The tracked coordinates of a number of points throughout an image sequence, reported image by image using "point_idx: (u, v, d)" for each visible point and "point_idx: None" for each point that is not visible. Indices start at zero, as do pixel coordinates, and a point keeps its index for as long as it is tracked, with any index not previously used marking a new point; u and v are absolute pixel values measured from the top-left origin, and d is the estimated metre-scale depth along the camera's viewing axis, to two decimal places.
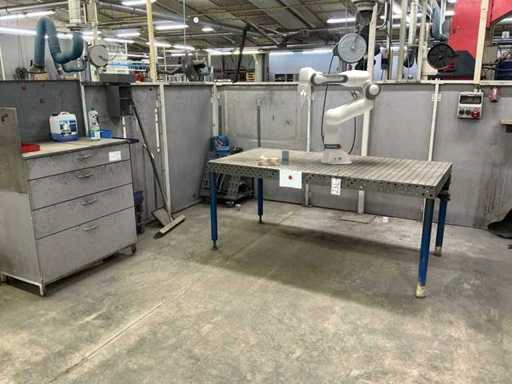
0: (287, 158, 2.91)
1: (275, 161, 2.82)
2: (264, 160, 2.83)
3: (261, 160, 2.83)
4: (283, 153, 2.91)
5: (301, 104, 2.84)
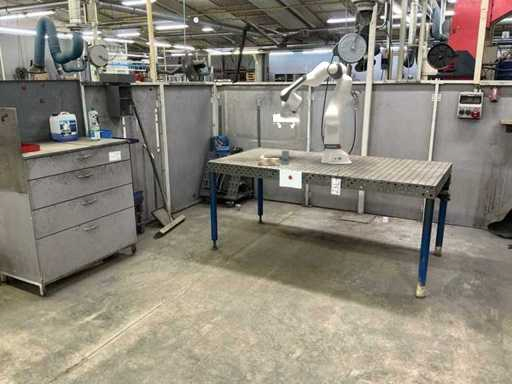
0: (287, 158, 2.91)
1: (275, 161, 2.82)
2: (264, 160, 2.83)
3: (261, 160, 2.83)
4: (283, 153, 2.91)
5: None
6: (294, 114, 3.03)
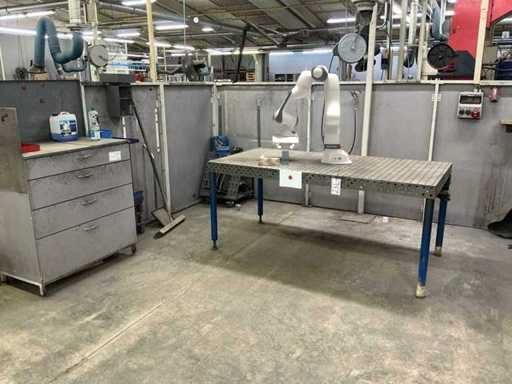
0: (287, 158, 2.91)
1: (275, 161, 2.82)
2: (264, 160, 2.83)
3: (261, 160, 2.83)
4: (283, 153, 2.91)
5: None
6: (293, 134, 3.00)
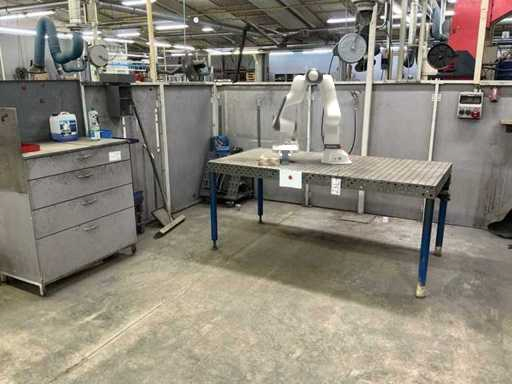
0: (287, 158, 2.91)
1: (275, 161, 2.82)
2: (264, 160, 2.83)
3: (261, 160, 2.83)
4: (283, 153, 2.91)
5: (278, 152, 2.95)
6: (294, 142, 2.95)
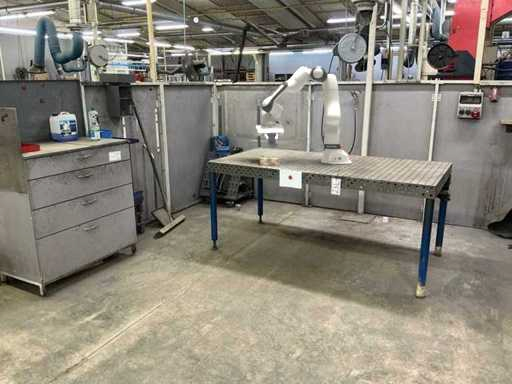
0: (274, 141, 2.88)
1: (275, 161, 2.82)
2: (264, 160, 2.83)
3: (261, 160, 2.83)
4: (270, 136, 2.87)
5: (264, 135, 2.89)
6: (278, 124, 2.93)
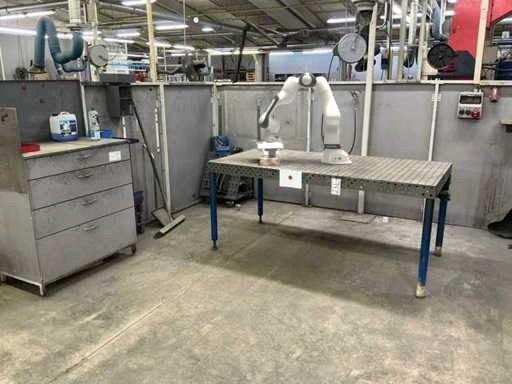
0: None
1: (275, 161, 2.82)
2: (264, 160, 2.83)
3: (261, 160, 2.83)
4: (270, 153, 2.90)
5: (262, 151, 2.92)
6: (277, 139, 2.96)
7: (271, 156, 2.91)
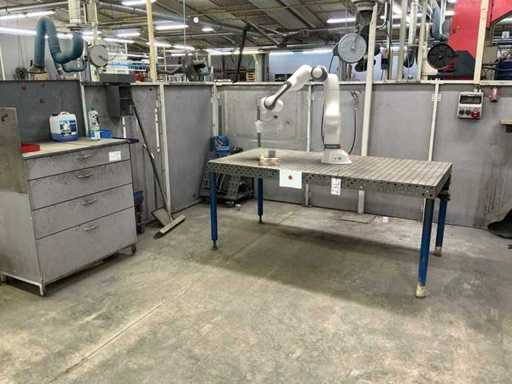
0: None
1: (275, 161, 2.82)
2: (264, 160, 2.83)
3: (261, 160, 2.83)
4: (270, 153, 2.90)
5: None
6: (276, 119, 3.02)
7: (271, 156, 2.91)
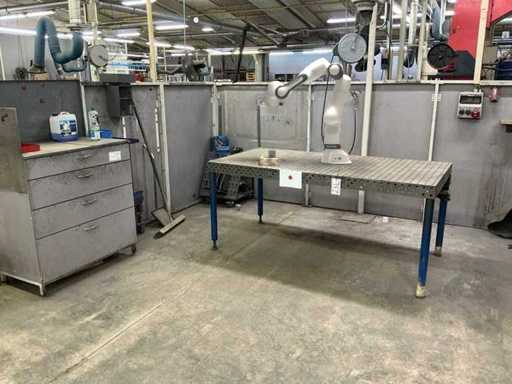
0: None
1: (275, 161, 2.82)
2: (264, 160, 2.83)
3: (261, 160, 2.83)
4: (270, 153, 2.90)
5: None
6: (281, 106, 2.97)
7: (271, 156, 2.91)
